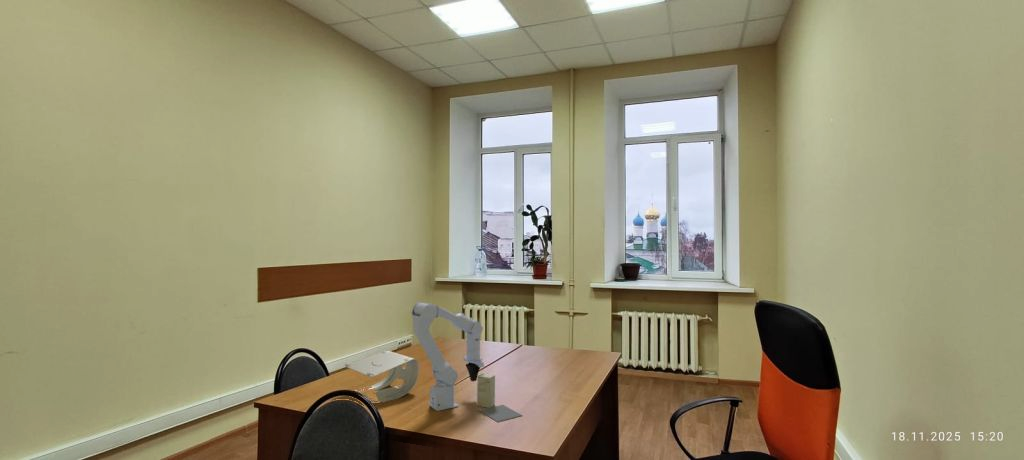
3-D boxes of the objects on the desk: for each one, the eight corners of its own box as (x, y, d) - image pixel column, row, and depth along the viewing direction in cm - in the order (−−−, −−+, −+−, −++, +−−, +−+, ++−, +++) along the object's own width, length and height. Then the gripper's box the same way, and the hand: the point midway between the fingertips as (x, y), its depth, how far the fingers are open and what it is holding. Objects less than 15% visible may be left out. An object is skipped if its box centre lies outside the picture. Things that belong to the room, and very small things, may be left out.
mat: (497, 422, 170) (497, 421, 170) (479, 411, 182) (479, 410, 182) (522, 415, 176) (522, 415, 176) (502, 405, 188) (502, 404, 188)
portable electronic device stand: (420, 393, 205) (420, 358, 205) (370, 406, 188) (370, 368, 189) (391, 381, 223) (390, 349, 224) (343, 392, 207) (343, 357, 207)
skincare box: (476, 405, 187) (476, 375, 188) (482, 402, 191) (482, 373, 192) (490, 408, 185) (489, 377, 185) (495, 404, 188) (495, 374, 189)
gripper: (489, 350, 194) (490, 383, 193) (473, 344, 206) (473, 375, 205) (475, 352, 190) (475, 386, 190) (459, 346, 202) (459, 377, 202)
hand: (473, 380), depth 197 cm, fingers closed
